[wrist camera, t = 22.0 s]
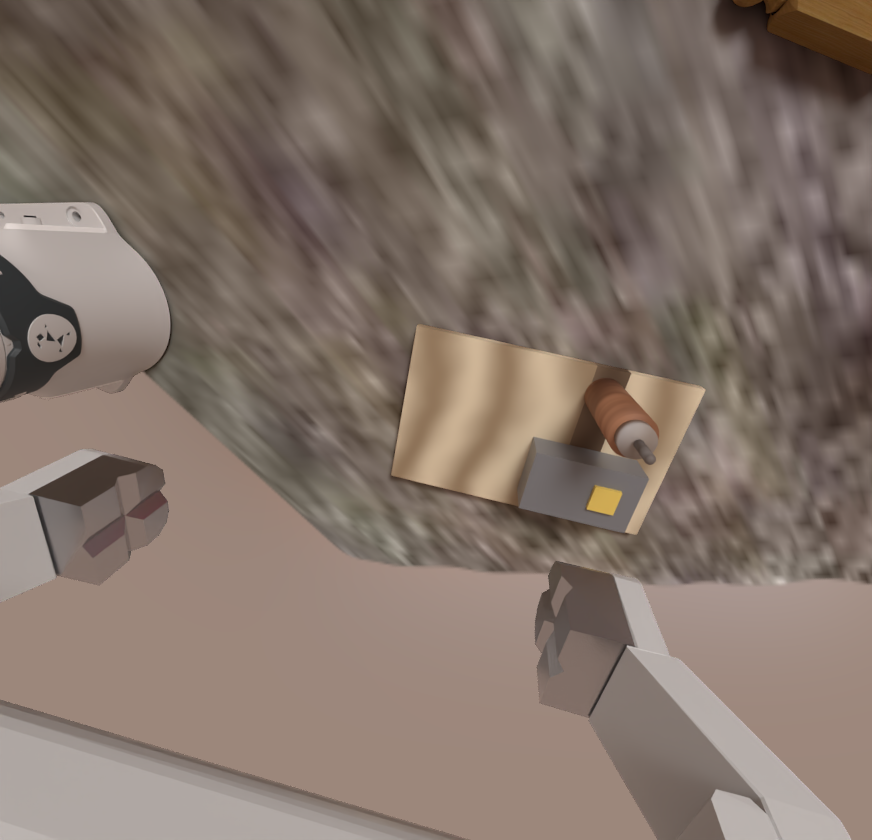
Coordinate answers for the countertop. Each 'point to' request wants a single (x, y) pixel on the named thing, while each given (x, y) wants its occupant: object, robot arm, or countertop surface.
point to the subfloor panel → (517, 414)
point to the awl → (622, 420)
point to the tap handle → (824, 27)
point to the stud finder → (581, 484)
